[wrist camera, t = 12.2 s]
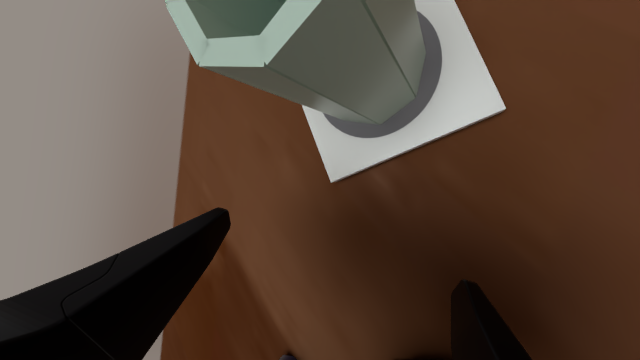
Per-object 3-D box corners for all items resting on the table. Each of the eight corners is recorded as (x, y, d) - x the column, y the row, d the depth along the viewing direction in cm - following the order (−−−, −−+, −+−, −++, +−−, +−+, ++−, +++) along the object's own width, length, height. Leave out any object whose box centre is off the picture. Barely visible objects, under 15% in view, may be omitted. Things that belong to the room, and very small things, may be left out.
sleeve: (409, 128, 16) (331, 67, 6) (320, 117, 19) (162, 65, 9) (433, 17, 15) (393, -322, 4) (335, 25, 18) (173, -165, 8)
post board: (502, 112, 15) (522, 93, 11) (337, 181, 20) (307, 186, 16) (425, -50, 16) (416, -124, 12) (289, 57, 22) (251, 32, 18)
